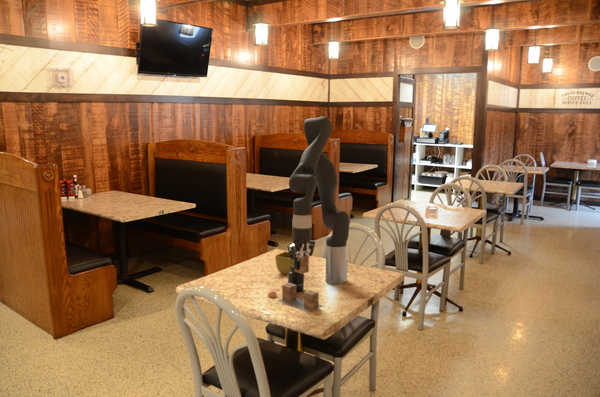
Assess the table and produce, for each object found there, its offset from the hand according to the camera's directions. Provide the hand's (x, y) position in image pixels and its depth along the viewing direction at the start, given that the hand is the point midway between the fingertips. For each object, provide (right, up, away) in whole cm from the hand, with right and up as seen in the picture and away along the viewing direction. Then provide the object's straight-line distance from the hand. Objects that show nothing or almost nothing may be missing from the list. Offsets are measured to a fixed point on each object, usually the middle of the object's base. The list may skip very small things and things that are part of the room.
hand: (301, 268), depth 190 cm
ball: (-12, -14, +10) cm, 21 cm away
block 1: (-5, -14, +7) cm, 16 cm away
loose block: (0, -1, 0) cm, 1 cm away
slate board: (0, -15, +3) cm, 16 cm away
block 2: (+4, -15, -1) cm, 16 cm away
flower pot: (-6, -9, +43) cm, 44 cm away
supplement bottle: (-2, -13, +17) cm, 22 cm away
